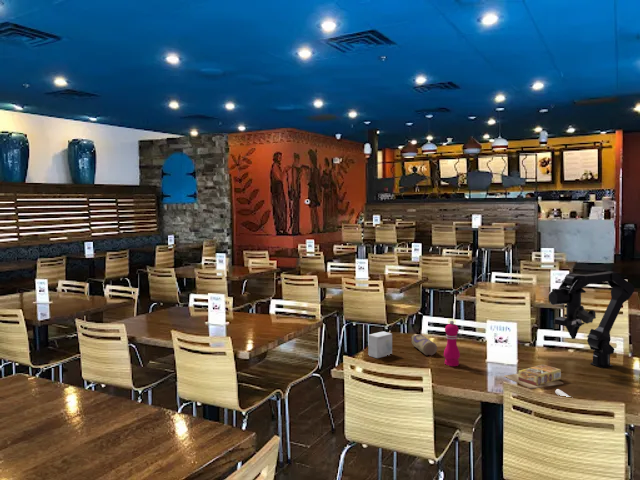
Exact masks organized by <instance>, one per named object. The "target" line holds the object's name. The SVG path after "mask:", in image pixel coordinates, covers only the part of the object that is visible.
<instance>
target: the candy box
mask: <svg viewBox="0 0 640 480" xmlns="http://www.w3.org/2000/svg"><path fill="white" fill-rule="evenodd" d="M517 374H518V380H520V381H523V382H527V383H530V384H533V385H536V386H538V385H541V384H545V383H548V382H552V381H555V380H558V381H559V380H562V379H561V378H562V370H561V368H557V367H554V366H549V365H547V364H538V365H536V366H532V367H528V368H524V369H521V370H520V369H519V370H518V373H517Z"/></svg>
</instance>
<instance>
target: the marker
mask: <svg viewBox="0 0 640 480" xmlns="http://www.w3.org/2000/svg"><path fill="white" fill-rule="evenodd" d="M554 392H555V394H556V395H557V396H559V395H560V396H566V397H572V396H571V395H569V394H567V393H566V392H564V391H563V390H561V389H559V388H556V390H554ZM560 396H559V397H560Z"/></svg>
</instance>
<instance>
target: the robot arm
mask: <svg viewBox="0 0 640 480" xmlns="http://www.w3.org/2000/svg"><path fill="white" fill-rule="evenodd" d="M601 283H607V285H608V286H609V287H611V290H610V296H611V298H610V300H609V303H608V305H607V306H606V310H605V311H604V313H603V316H602V318H601V320H600V322H599V324H598V326H597V327H596V328H595V329H594V328H591V329H590V331H589V333H588V335H587V336H586V337H587V339H586V340H587V343H588V344H587V345H588V346H589V348H590V350H591V351H593V355H592V362H590V363H589V364H590V365H591V366H592V365H593V366H596V367H599V368H601V369H602V368H604V369H605V368H609V367H610V368H611V367H613V364H611V355H613V354H614V352H615V348H614V347H613V345H611V344H610V342H611V330H612V328H613V326H614V324H615V322H616V320H617V318H618V315H619V313H620V311H621V309H622V307H623V305H624V303H625V302H628V300H630V299H631V297H632V295H633V294H634V293H635V287H634V284H632V283H631V282H629V281H628V280H626V278H623V277H622V276H620V274H618V273H617V272H616V271H609V270H607V271H603V272H595V273H588V274H579V273H568V274H566V275H565V277H564V279H563V280H562V282H561V284H560V286H559V287H558V288H552V289H551V292H549V295H548V301H549V303H550V304H551V305H553V306H554V305H555V306H556V305H564V308H565V309H566V312H565V314H563V315H564V316H558V317H554V319H553V324H554V325H556V326H557V325H558V326H562V327H563V326H564V327H565V329H566V330H567V332H568V334H569V335H570V338H571V340H575V339H576V337H577V335H578V331H579V329H580V328H581V327H582V326H583V325H585V324H587V325H588V324H592V323H593V321H594V320H595V319H596V318H597V317H596V316H597V315H596V311H595V310H593V309H592V310H585V307H584V305H582V294H583V293H587V291H586V290H585V289H584V288H585V287H587V286H588V285H593V284H601Z"/></svg>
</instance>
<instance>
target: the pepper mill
mask: <svg viewBox="0 0 640 480" xmlns="http://www.w3.org/2000/svg"><path fill="white" fill-rule="evenodd" d="M459 329H460V328H459V327H458V325H456V324H454V320H449V323H447V324H446V325H445V328H444V332H445V338H446V345H445V348H444V351H443V358H444V359H445V360H444V365H445V364H446V365H445V366H447V365H449V366H448V367H457V366H459V365H460V360H459V359H460V357H461V353H460V349H459V347H458V344H457V339H458V333H459Z"/></svg>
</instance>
